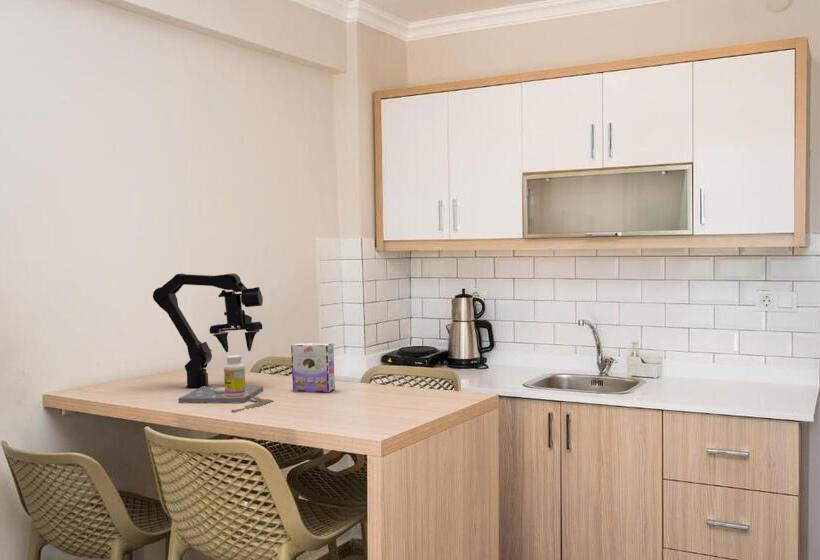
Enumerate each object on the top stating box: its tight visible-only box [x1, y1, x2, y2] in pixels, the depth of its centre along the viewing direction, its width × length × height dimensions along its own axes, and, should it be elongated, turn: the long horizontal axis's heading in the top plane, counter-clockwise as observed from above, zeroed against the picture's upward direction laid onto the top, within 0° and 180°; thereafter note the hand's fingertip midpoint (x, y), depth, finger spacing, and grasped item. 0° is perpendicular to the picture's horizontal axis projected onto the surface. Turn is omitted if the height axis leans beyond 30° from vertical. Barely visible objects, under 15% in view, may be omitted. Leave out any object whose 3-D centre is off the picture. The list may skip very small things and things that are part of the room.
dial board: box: [177, 386, 264, 404], centre depth 273 cm, size 22×21×3 cm
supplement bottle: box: [223, 354, 246, 396], centre depth 266 cm, size 7×7×13 cm
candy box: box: [290, 342, 336, 393], centre depth 280 cm, size 14×6×16 cm, turn 71°
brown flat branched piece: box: [230, 395, 274, 413], centre depth 256 cm, size 9×20×2 cm, turn 175°
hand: (238, 351), depth 291 cm, fingers open, 9 cm apart
